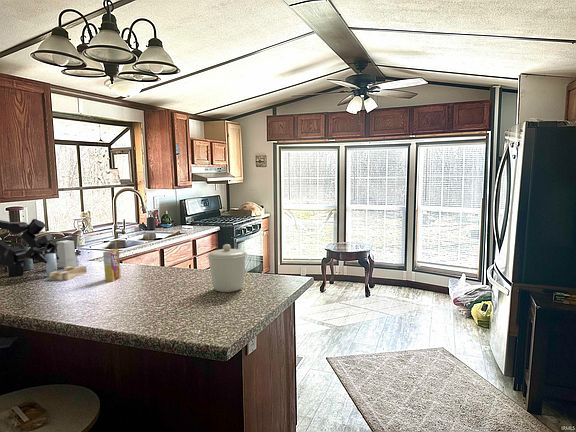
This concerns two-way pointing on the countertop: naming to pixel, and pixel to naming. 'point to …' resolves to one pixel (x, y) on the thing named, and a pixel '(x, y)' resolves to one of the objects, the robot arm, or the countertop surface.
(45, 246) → the robot arm
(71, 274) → the oak stand
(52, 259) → the slate jar
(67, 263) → the skincare box
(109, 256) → the candy box
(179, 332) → the countertop surface
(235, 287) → the canister
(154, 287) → the countertop surface
